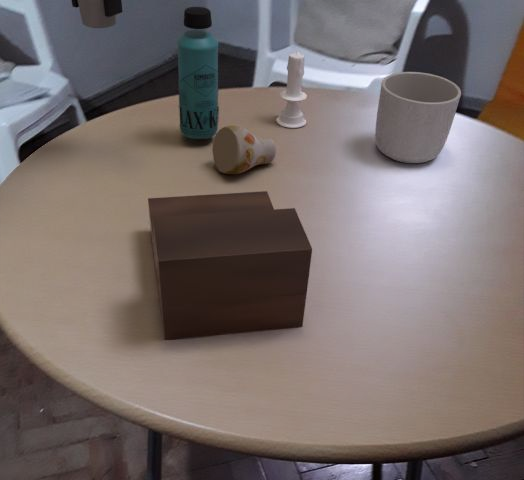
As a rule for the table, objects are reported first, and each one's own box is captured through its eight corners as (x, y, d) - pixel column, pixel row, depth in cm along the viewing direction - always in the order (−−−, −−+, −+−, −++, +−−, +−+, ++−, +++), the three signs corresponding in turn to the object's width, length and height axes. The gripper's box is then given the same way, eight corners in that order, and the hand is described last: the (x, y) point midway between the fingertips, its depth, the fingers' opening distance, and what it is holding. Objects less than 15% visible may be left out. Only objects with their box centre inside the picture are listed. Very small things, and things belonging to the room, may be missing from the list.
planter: (395, 175, 100) (410, 108, 92) (356, 141, 108) (367, 76, 100) (458, 163, 104) (477, 97, 96) (416, 130, 112) (431, 67, 104)
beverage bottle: (171, 137, 105) (164, 6, 91) (203, 126, 109) (200, -1, 95) (195, 152, 102) (192, 19, 88) (227, 140, 106) (228, 11, 92)
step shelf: (150, 230, 86) (143, 155, 78) (265, 222, 89) (269, 149, 81) (164, 340, 71) (158, 261, 63) (302, 326, 73) (312, 249, 66)
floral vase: (288, 168, 100) (274, 128, 91) (236, 201, 100) (217, 164, 91) (266, 138, 103) (250, 96, 94) (216, 170, 103) (195, 131, 94)
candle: (279, 113, 114) (284, 44, 106) (308, 117, 113) (315, 47, 105) (273, 126, 110) (278, 55, 102) (303, 130, 110) (310, 59, 101)
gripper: (155, -209, 70) (166, 17, 86) (36, -223, 76) (67, -10, 93) (109, -207, 65) (130, 31, 82) (-14, -222, 72) (29, 1, 88)
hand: (97, 9), depth 87 cm, fingers closed on cup, 5 cm apart
